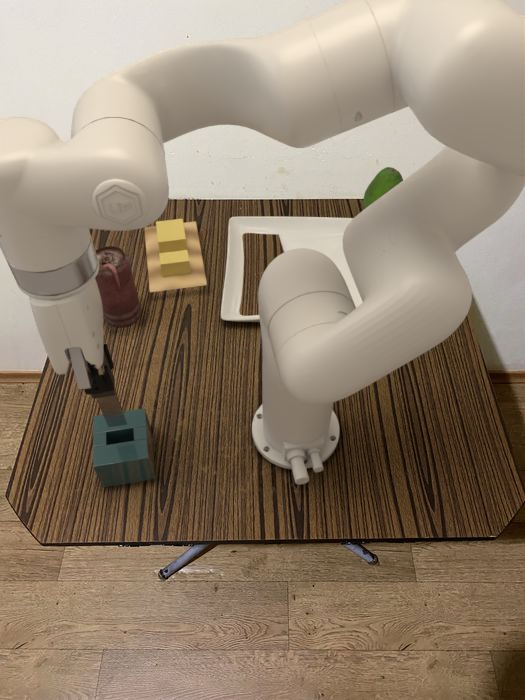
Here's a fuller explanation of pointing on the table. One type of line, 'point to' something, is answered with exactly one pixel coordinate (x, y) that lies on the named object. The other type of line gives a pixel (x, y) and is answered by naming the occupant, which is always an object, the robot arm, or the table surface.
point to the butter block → (171, 235)
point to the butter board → (176, 281)
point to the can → (117, 287)
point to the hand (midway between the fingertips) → (100, 379)
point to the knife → (110, 402)
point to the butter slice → (174, 263)
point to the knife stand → (123, 450)
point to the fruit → (381, 185)
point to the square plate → (293, 235)
